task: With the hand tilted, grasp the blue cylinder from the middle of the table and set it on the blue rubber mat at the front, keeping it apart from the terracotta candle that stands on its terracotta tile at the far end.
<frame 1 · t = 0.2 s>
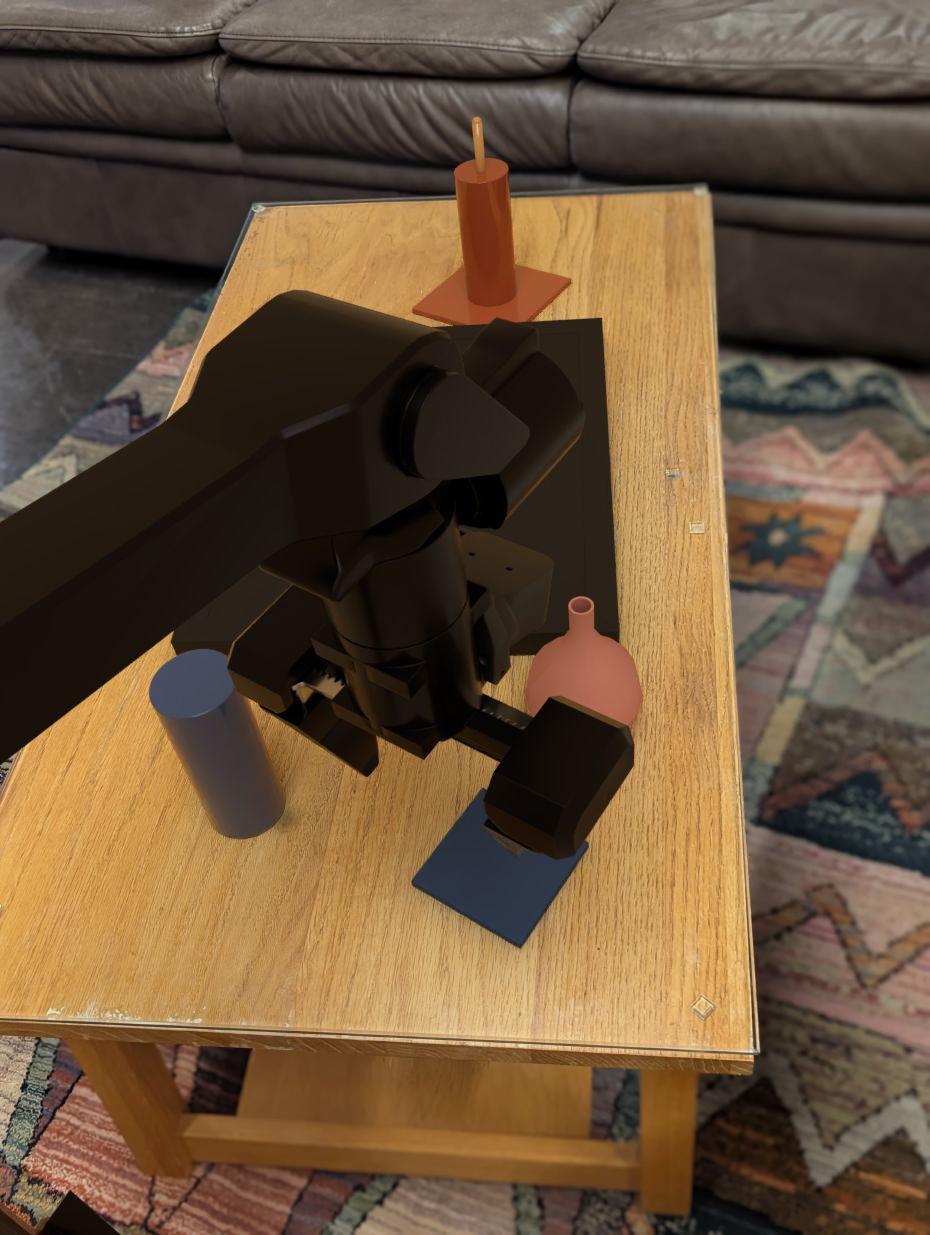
hand: (442, 807, 54), 14 cm above the table, tool pointing down, fingers open, 9 cm apart
blue cylinder: (247, 805, 72), on the table
blue mat: (500, 866, 67), on the table
terracotta candle: (491, 293, 112), point 1 cm above the table, touching terracotta tile
terracotta bud vase: (584, 727, 74), on the table
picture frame: (418, 481, 93), on the table
terracotta tile: (492, 298, 112), on the table
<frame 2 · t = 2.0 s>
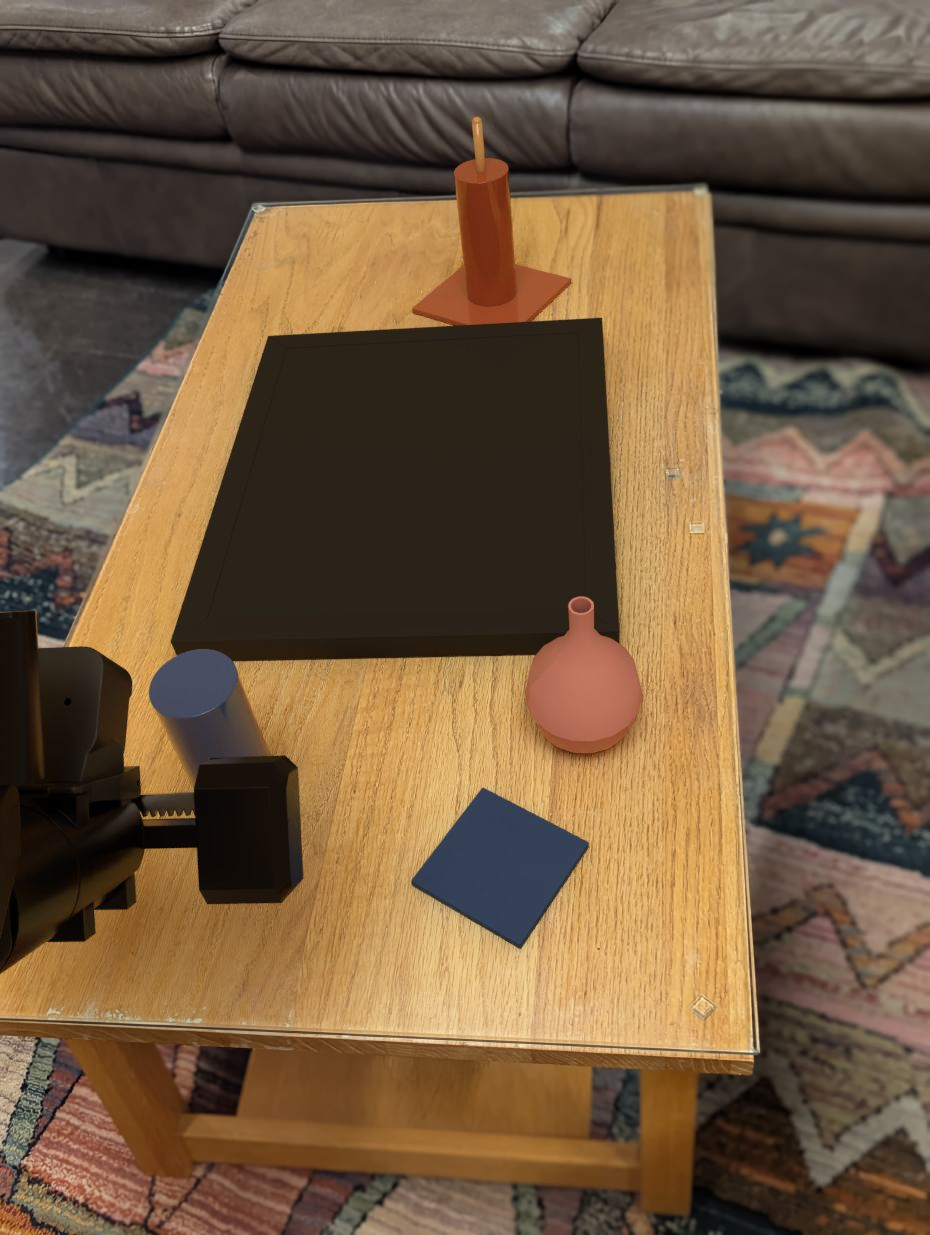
hand: (160, 795, 57), 13 cm above the table, tool tilted 45°, fingers open, 9 cm apart
nothing on the table moved.
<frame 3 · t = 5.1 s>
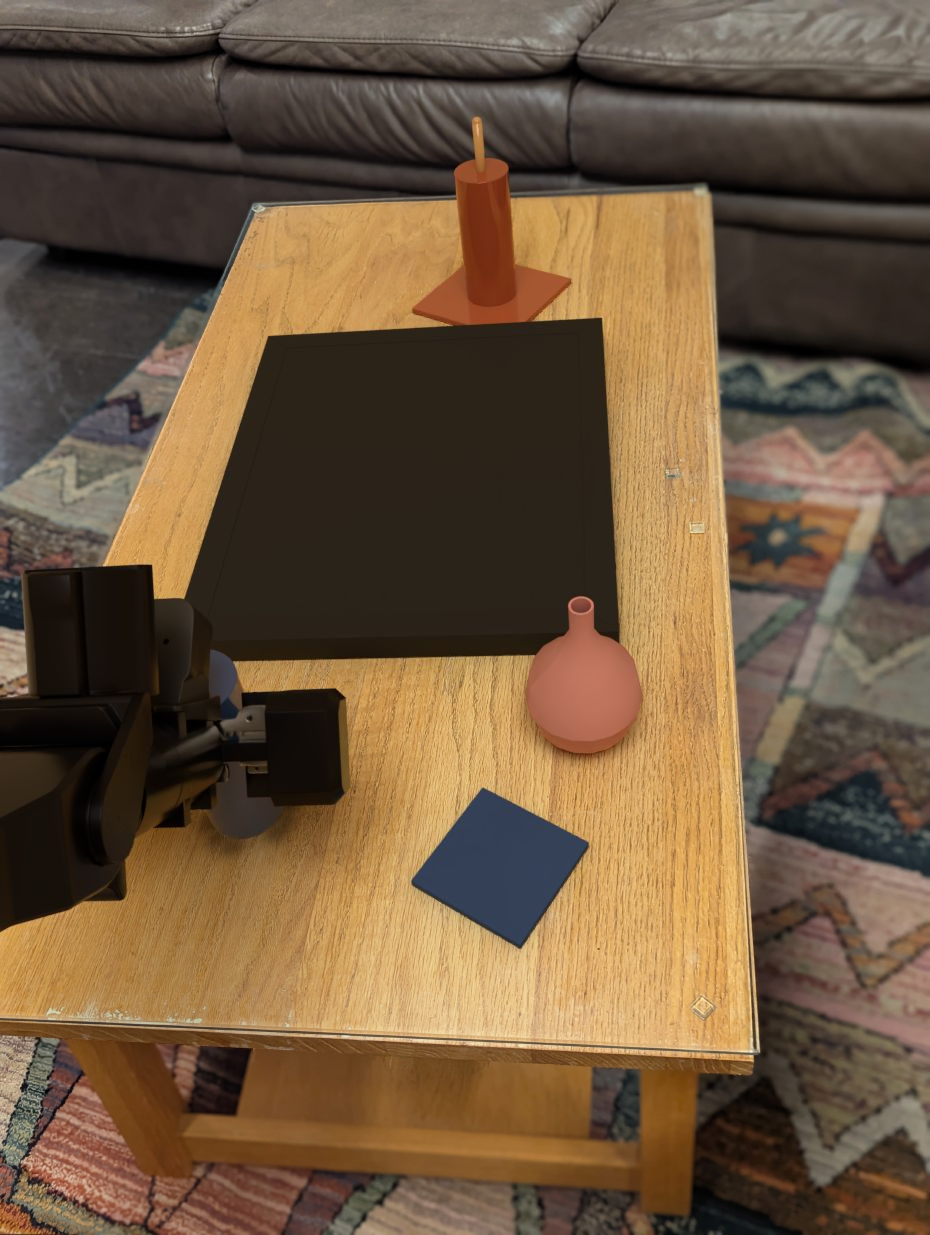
hand: (226, 729, 68), 7 cm above the table, tool tilted 45°, fingers closed on blue cylinder, 5 cm apart
blue cylinder: (247, 805, 72), on the table, touching gripper
everything else where it was.
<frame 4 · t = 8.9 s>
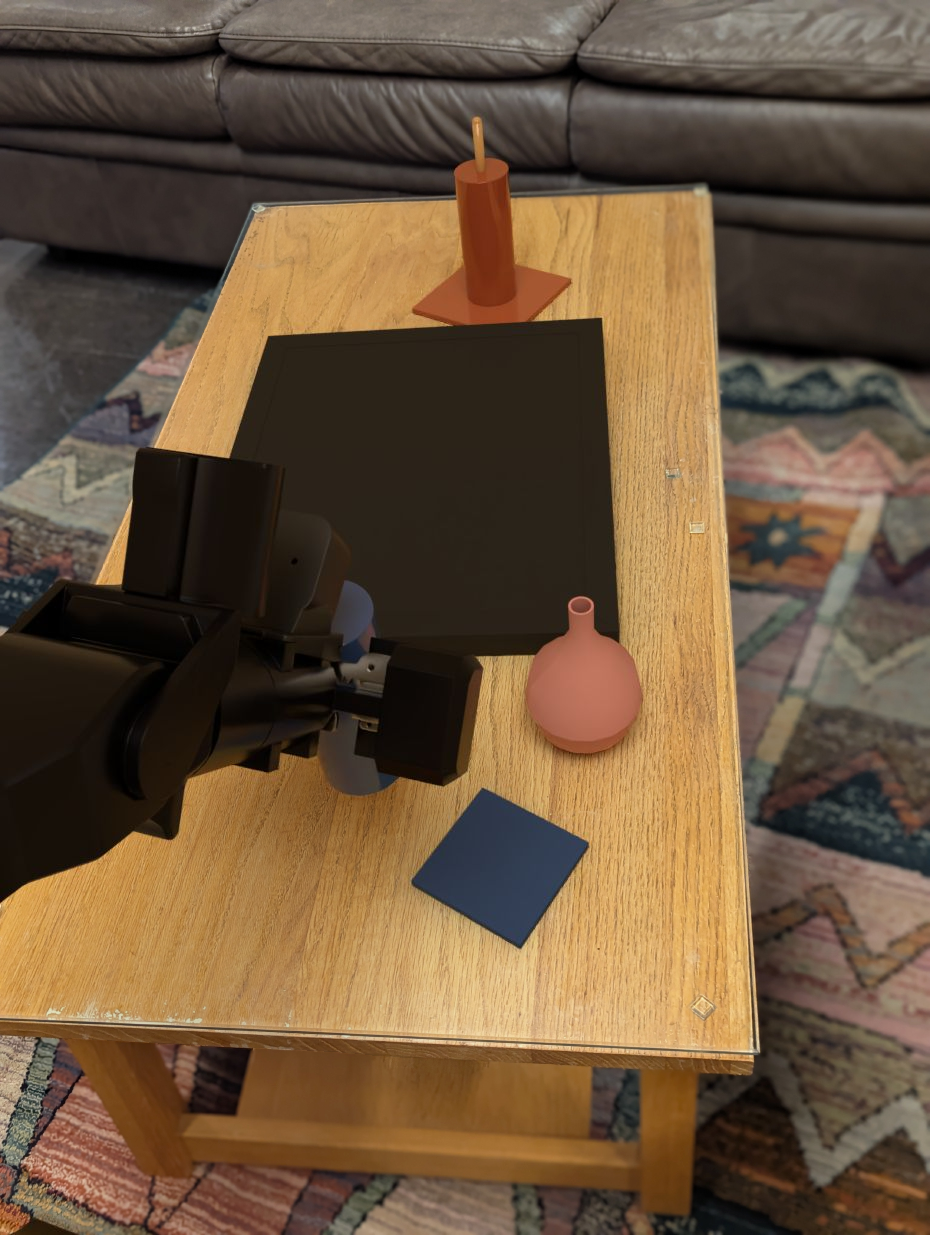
hand: (355, 673, 61), 13 cm above the table, tool tilted 45°, fingers closed on blue cylinder, 5 cm apart
blue cylinder: (364, 760, 65), point 7 cm above the table, touching gripper
everything else where it was.
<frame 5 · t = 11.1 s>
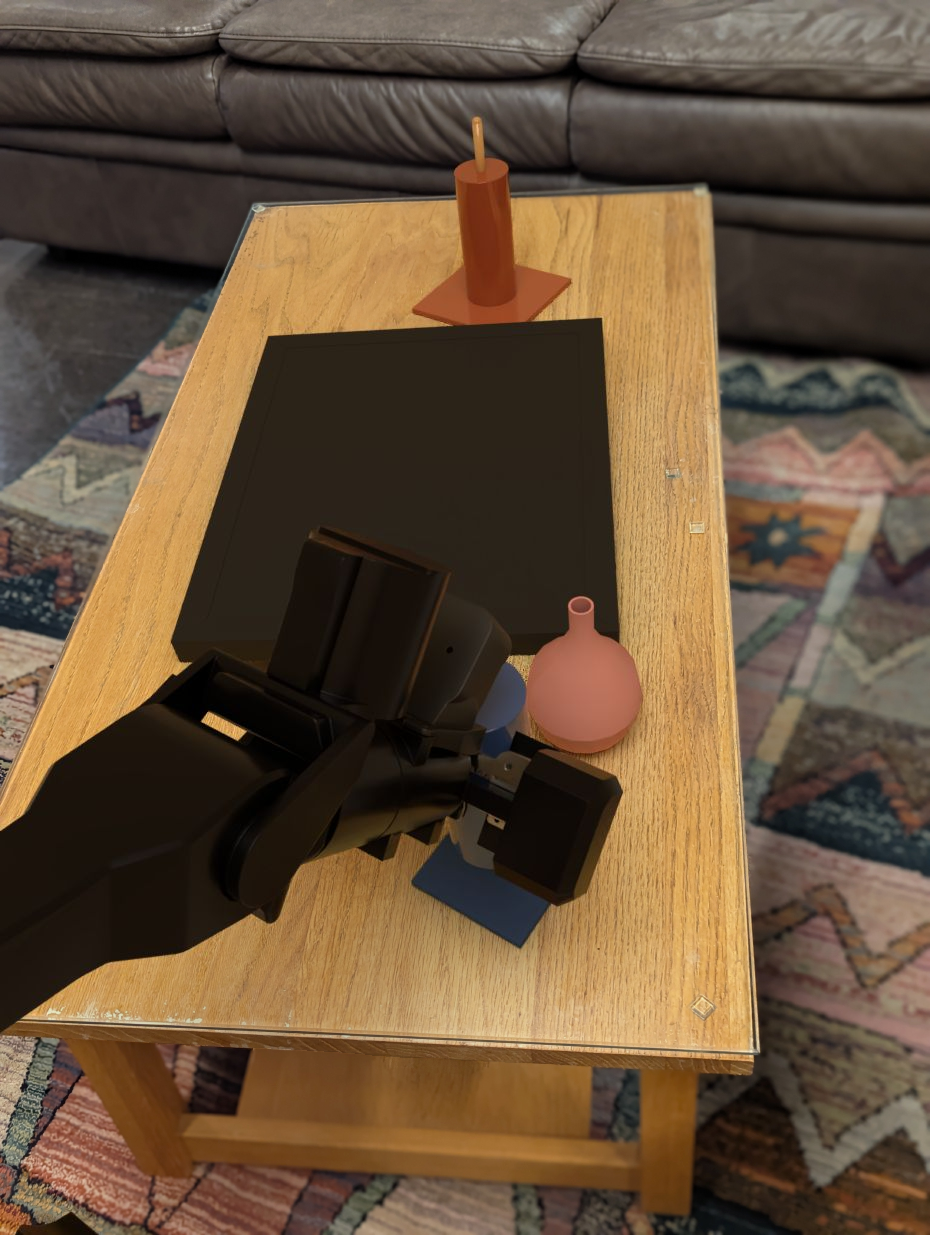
hand: (498, 749, 60), 11 cm above the table, tool tilted 45°, fingers closed on blue cylinder, 5 cm apart
blue cylinder: (493, 830, 64), point 4 cm above the table, touching gripper
everything else where it was.
when the fingers open (7 cm above the table, at t = 12.7 s): blue cylinder stays where it is, resting on blue mat.
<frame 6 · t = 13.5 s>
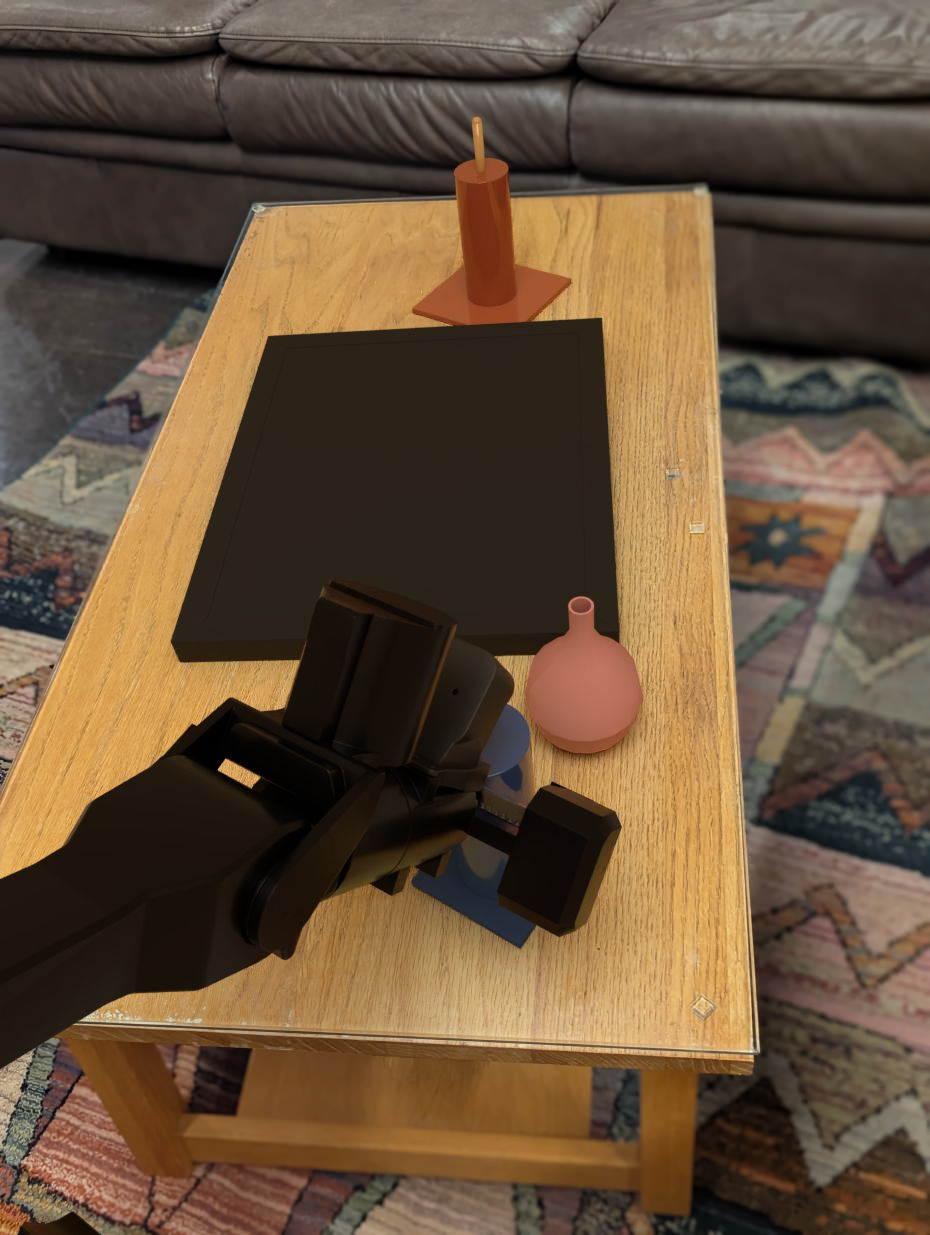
hand: (502, 778, 62), 8 cm above the table, tool tilted 45°, fingers open, 9 cm apart
blue cylinder: (499, 861, 67), point 1 cm above the table, touching blue mat
everything else where it was.
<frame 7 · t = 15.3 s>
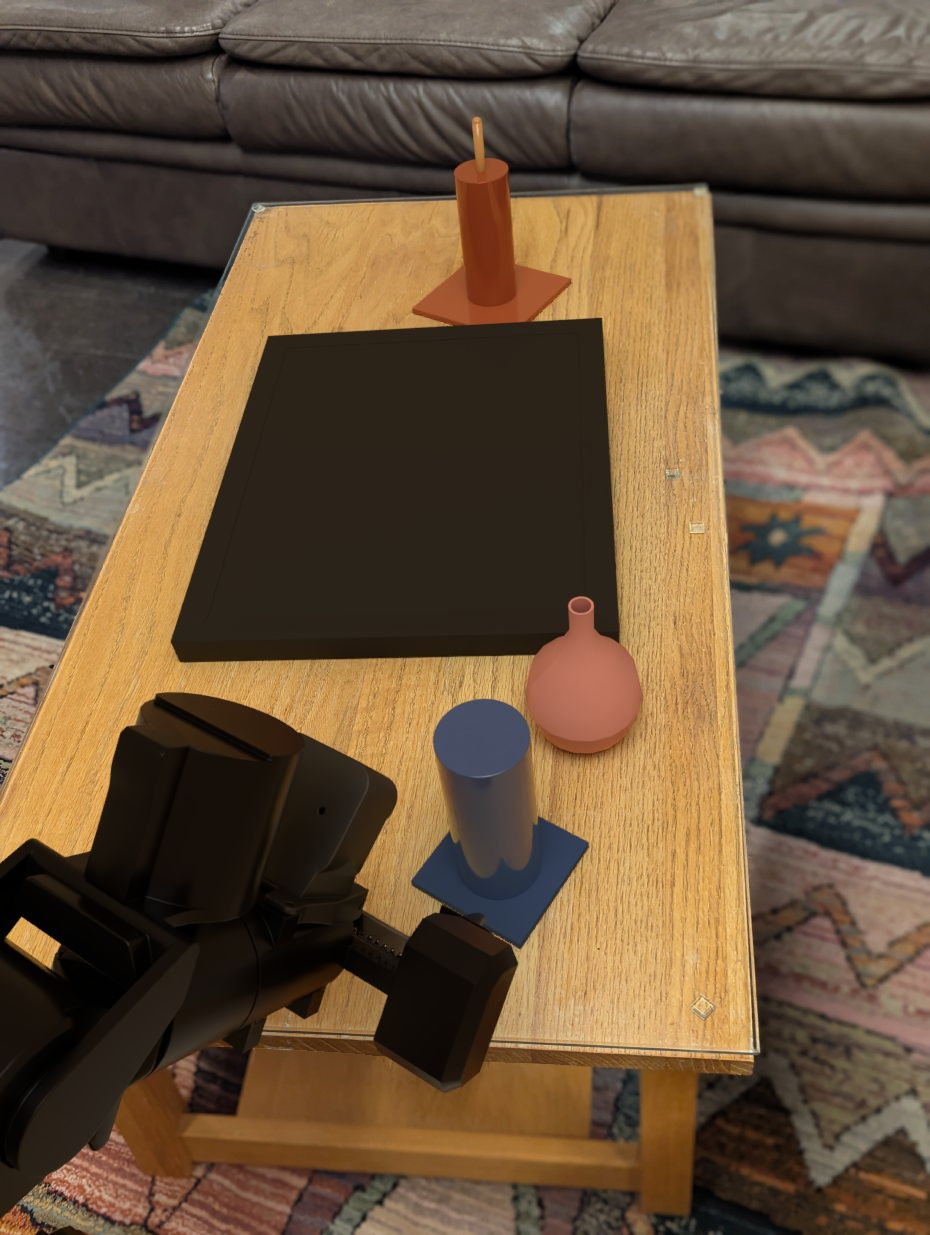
hand: (403, 881, 55), 11 cm above the table, tool tilted 45°, fingers open, 9 cm apart
nothing on the table moved.
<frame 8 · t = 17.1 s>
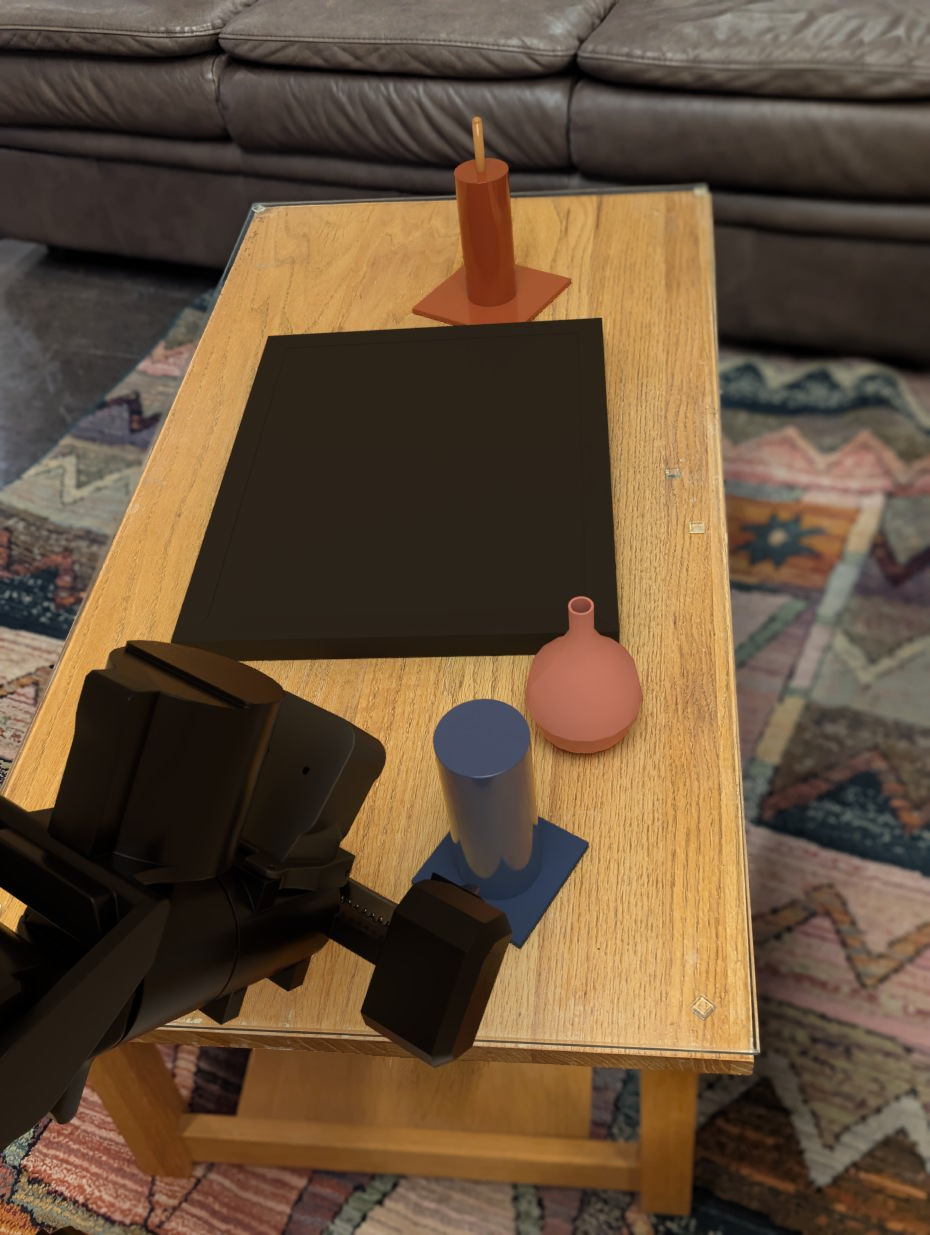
hand: (394, 853, 53), 14 cm above the table, tool tilted 45°, fingers open, 9 cm apart
nothing on the table moved.
at the end: blue cylinder 0.1 cm off-centre on the blue mat, point 0.6 cm above the blue mat's base; blue cylinder tilted 0°; terracotta candle moved 0.0 cm from its start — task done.
